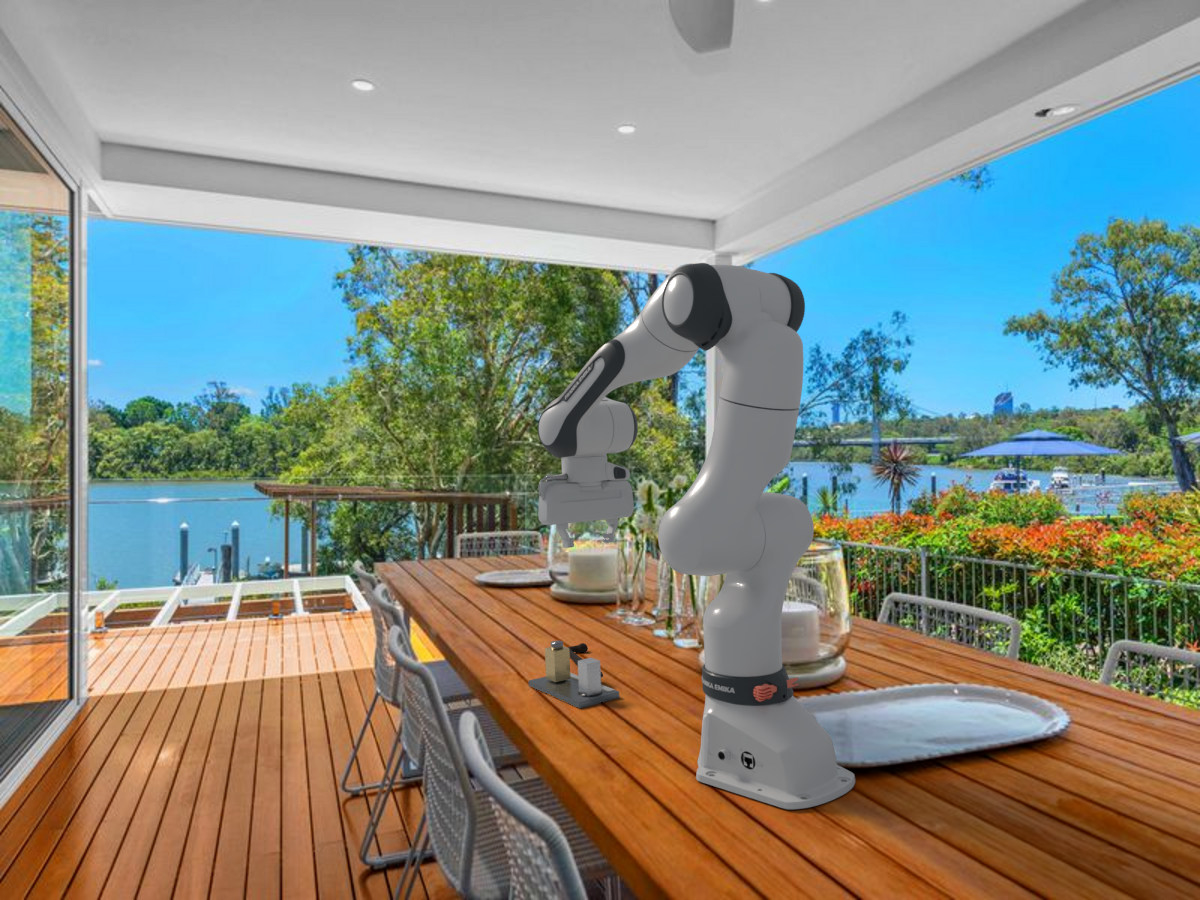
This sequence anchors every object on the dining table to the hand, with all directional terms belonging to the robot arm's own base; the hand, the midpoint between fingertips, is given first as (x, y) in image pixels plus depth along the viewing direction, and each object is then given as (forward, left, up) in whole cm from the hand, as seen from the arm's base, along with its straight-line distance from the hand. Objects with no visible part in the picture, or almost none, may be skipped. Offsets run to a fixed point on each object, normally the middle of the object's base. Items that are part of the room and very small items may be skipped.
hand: (589, 544), depth 151 cm
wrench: (+14, -8, -29) cm, 33 cm away
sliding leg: (+8, +3, -27) cm, 28 cm away
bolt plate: (+3, +3, -28) cm, 29 cm away
